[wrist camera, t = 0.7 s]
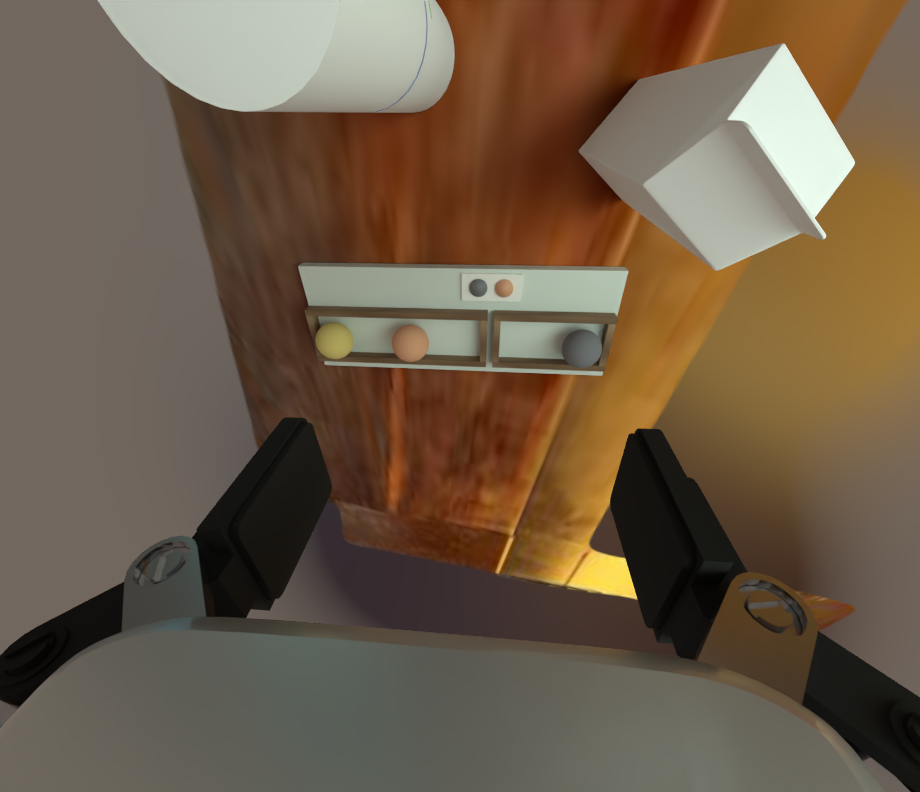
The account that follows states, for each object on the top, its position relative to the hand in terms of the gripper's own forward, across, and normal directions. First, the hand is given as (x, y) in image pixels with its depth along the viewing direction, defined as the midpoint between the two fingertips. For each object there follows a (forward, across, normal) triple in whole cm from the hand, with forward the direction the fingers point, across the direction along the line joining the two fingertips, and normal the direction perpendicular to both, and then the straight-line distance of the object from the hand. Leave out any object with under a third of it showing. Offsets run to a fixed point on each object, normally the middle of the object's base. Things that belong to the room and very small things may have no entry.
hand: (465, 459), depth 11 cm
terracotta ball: (+28, +8, +10) cm, 31 cm away
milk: (+30, -11, -7) cm, 33 cm away
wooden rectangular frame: (+30, -7, +10) cm, 32 cm away
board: (+31, +3, +8) cm, 32 cm away
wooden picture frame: (+30, +10, +10) cm, 33 cm away
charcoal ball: (+28, -10, +10) cm, 31 cm away
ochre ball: (+28, +17, +10) cm, 34 cm away
